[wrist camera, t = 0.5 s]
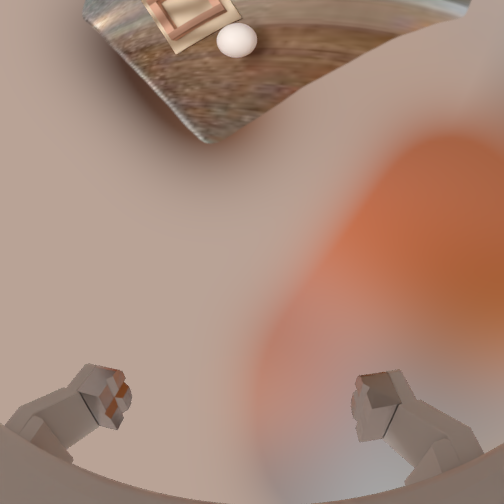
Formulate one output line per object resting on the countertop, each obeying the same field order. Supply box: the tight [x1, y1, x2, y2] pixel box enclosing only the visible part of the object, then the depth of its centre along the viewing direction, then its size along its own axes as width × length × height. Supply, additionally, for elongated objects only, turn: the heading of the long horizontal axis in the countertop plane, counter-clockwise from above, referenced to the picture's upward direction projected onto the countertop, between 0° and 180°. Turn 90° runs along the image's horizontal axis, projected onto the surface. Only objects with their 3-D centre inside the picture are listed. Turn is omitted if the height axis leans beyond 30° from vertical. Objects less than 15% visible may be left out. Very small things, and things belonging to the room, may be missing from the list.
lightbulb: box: [217, 23, 257, 58], centre depth 35 cm, size 6×6×11 cm
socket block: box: [141, 0, 242, 54], centre depth 34 cm, size 16×14×3 cm
